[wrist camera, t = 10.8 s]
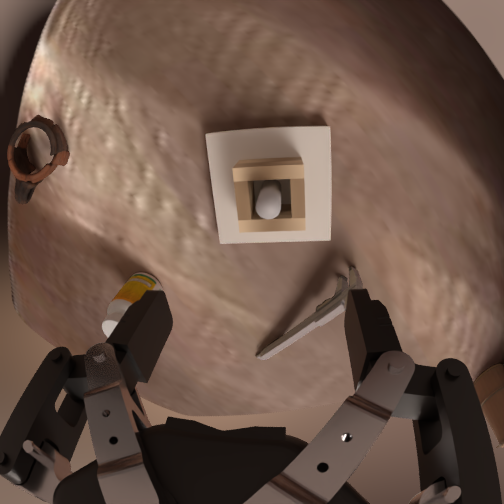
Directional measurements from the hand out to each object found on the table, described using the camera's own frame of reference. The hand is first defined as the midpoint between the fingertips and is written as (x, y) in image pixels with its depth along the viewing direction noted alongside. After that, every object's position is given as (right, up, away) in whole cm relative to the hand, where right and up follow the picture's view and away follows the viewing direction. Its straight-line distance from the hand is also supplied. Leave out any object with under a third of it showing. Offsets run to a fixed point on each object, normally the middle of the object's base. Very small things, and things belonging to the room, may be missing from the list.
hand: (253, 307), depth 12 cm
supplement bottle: (-15, -2, +26) cm, 30 cm away
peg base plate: (+2, +9, +17) cm, 20 cm away
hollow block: (+2, +9, +16) cm, 18 cm away
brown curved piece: (-28, +16, +18) cm, 37 cm away
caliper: (+7, -6, +26) cm, 27 cm away
